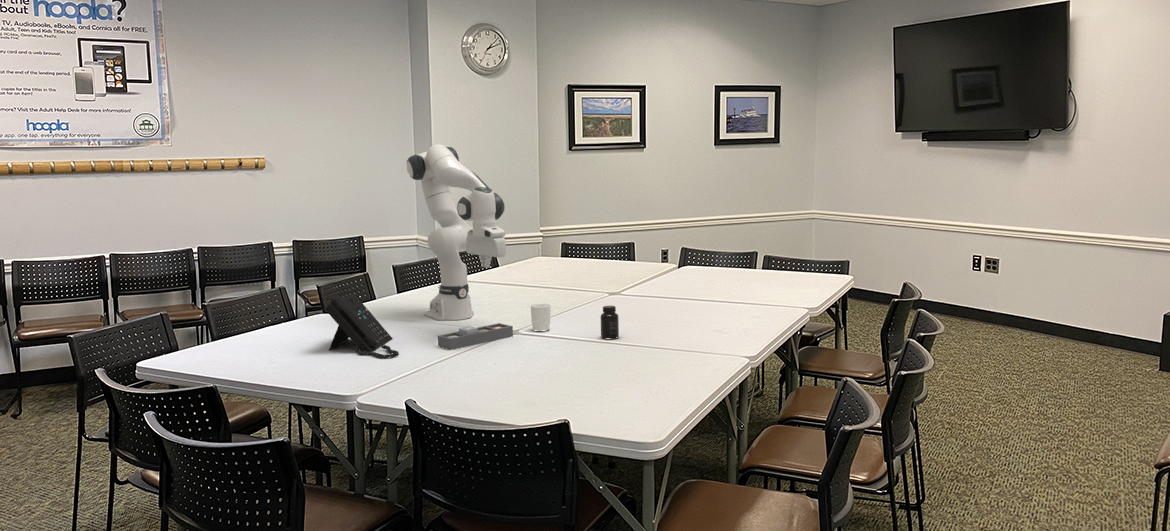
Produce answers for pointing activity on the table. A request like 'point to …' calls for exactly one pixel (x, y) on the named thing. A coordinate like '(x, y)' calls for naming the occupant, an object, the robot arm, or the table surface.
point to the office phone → (358, 326)
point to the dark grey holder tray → (475, 336)
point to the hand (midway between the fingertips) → (485, 267)
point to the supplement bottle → (609, 322)
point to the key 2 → (468, 330)
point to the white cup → (540, 316)
